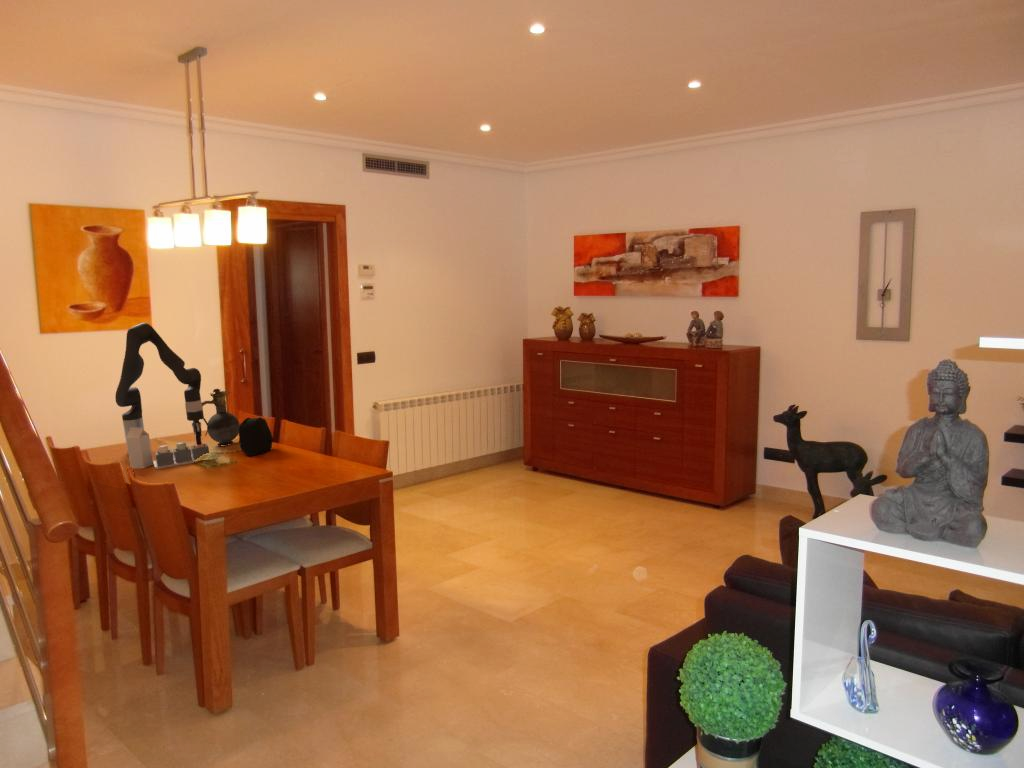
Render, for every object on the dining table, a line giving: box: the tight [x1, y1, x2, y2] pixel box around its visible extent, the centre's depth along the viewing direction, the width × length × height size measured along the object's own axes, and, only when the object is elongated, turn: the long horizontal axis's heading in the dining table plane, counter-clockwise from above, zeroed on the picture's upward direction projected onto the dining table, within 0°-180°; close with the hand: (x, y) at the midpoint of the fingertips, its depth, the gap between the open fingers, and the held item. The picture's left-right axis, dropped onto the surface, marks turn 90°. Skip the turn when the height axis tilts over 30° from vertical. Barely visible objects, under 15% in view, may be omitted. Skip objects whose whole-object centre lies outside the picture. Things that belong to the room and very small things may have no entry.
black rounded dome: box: [237, 416, 275, 456], centre depth 377 cm, size 18×18×17 cm
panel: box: [152, 443, 210, 470], centre depth 370 cm, size 14×26×6 cm, turn 119°
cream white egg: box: [157, 444, 170, 454], centre depth 365 cm, size 4×4×5 cm
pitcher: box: [201, 388, 241, 447], centre depth 395 cm, size 11×19×30 cm, turn 136°
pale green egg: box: [175, 442, 188, 451], centre depth 369 cm, size 4×4×5 cm
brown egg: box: [193, 443, 205, 448], centre depth 373 cm, size 4×4×5 cm
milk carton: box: [125, 428, 154, 469], centre depth 363 cm, size 7×7×19 cm
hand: (199, 444), depth 373 cm, fingers closed
